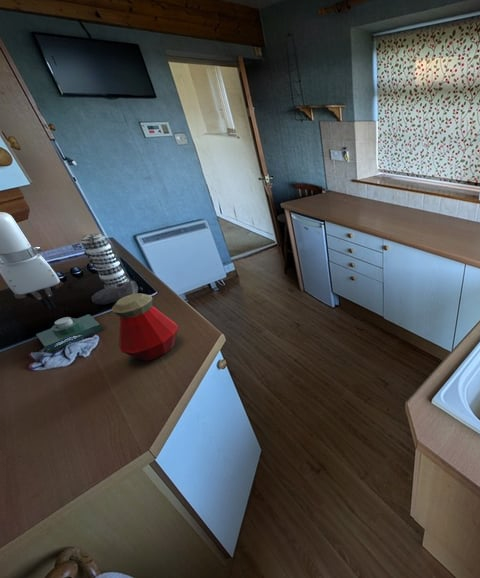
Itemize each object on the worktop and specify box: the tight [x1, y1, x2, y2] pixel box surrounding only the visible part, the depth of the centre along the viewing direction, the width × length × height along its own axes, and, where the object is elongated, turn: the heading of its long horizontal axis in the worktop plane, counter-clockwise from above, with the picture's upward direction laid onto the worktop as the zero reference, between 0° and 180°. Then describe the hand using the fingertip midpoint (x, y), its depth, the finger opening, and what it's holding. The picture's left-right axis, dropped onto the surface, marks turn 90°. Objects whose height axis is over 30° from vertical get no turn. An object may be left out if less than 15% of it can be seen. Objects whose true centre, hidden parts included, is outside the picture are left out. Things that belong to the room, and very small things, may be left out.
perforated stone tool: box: [91, 280, 139, 306], centre depth 119 cm, size 15×5×7 cm, turn 128°
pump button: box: [54, 316, 74, 329], centre depth 99 cm, size 4×4×2 cm
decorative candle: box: [79, 233, 130, 289], centre depth 122 cm, size 9×9×25 cm
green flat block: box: [35, 314, 104, 353], centre depth 100 cm, size 14×11×4 cm
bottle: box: [111, 292, 179, 362], centre depth 89 cm, size 16×14×20 cm
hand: (51, 306), depth 96 cm, fingers closed
